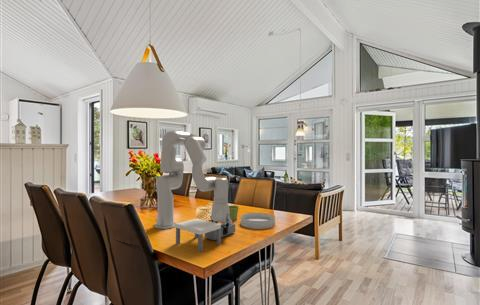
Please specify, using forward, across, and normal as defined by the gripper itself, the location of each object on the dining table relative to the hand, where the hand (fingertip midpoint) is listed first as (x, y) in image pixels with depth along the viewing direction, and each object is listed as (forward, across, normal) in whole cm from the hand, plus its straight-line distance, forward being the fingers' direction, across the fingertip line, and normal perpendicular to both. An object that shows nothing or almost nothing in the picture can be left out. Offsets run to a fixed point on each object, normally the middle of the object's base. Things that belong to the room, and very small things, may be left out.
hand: (220, 232), depth 147 cm
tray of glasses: (+1, 0, 0) cm, 1 cm away
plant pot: (+2, -19, +32) cm, 37 cm away
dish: (+2, +1, +34) cm, 34 cm away
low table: (+2, 0, -16) cm, 17 cm away
